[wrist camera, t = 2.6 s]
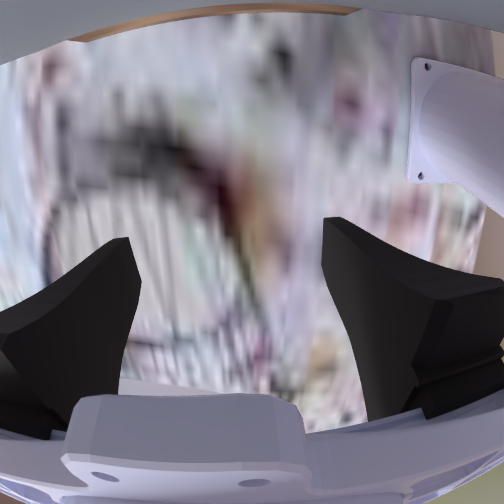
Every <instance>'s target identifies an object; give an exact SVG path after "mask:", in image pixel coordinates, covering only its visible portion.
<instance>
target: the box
mask: <svg viewBox="0 0 504 504" xmlns="http://www.w3.org/2000/svg"><path fill="white" fill-rule="evenodd" d="M359 9H362V8H356V7H348V6H339V5H328V4H314V3H284V2H272V3H242V4H228V5H217V6H207V7H199V8H192V9H185V10H179V11H173V12H167V13H162V14H157V15H152V16H147V17H142V18H138V19H134V20H130V21H126V22H122V23H118V24H114V25H111V26H107V27H104V28H101V29H97V30H94V31H91V32H88V33H85V34H82V35H79V36H76V37H73V38H70V39H68V40H70V41H78V42H90V41H93V40H96V39H99V38H103V37H106V36H110V35H113V34H117V33H121V32H125V31H129V30H133V29H137V28H141V27H146V26H151V25H156V24H161V23H166V22H172V21H178V20H184V19H191V18H198V17H206V16H216V15H226V14H240V13H261V12H301V13H321V14H335V15H347V14H350V13H352V12H354V11H357V10H359Z"/></svg>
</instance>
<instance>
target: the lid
mask: <svg viewBox="0 0 504 504" xmlns="http://www.w3.org/2000/svg"><path fill="white" fill-rule="evenodd" d="M272 2H284V3H314V4H328V5H339V6H348V7H356V8H364V9H371V10H377V11H383V12H388V13H397V14H408V15H417V16H424V17H432V18H438V19H444V20H450V21H455V22H460V23H465V24H470V25H474V26H478V27H482V28H486V29H490V30H494V31H498V32H502V33H504V0H0V65H2V64H4V63H7V62H9V61H12V60H15V59H18V58H20V57H23V56H26V55H29V54H32V53H35V52H38V51H40V50H42V49H45V48H47V47H50V46H52V45H55V44H57V43H60V42H62V41H65V40H68V39H70V38H73V37H76V36H79V35H82V34H85V33H88V32H91V31H94V30H97V29H101V28H104V27H107V26H111V25H114V24H118V23H122V22H126V21H130V20H134V19H138V18H142V17H147V16H152V15H157V14H162V13H167V12H173V11H179V10H185V9H192V8H199V7H207V6H217V5H228V4H242V3H272Z"/></svg>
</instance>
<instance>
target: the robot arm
mask: <svg viewBox="0 0 504 504" xmlns="http://www.w3.org/2000/svg"><path fill="white" fill-rule="evenodd" d="M425 63H427V65H428V69H427V70H426V69H425ZM421 172H422V175H421V177H419V178H418V175H419V173H421ZM406 178H407V180H408V181H410V182H411V183H456V184H457V185H459V186H460V187H462V188H463V189H465V190H466V191H468V192H469V193H471V194H472V195H473V196H475V197H476V198H478V199H479V200H480V201H482V202H483V203H485V204H486V205H487V206H489V207H490V208H491V209H493V210H494V211H495V212H497V213H498V214H499V215H501V216H502V217H503V218H504V79H501V78H498V77H495V76H492V75H489V74H486V73H482V72H479V71H475V70H472V69H468V68H465V67H461V66H457V65H453V64H449V63H445V62H440V61H436V60H431V59H426V58H421V57H415V58H414V59H413V60H412V62H411V114H410V133H409V147H408V158H407V169H406ZM321 265H322V269H323V273H324V276H325V280H326V283H327V287H328V289H329V291H330V294H331V296H332V298H333V301H334V303H335V305H336V308H337V310H338V312H339V314H340V317H341V319H342V321H343V324H344V326H345V328H346V331H347V333H348V336H349V339H350V342H351V345H352V349H353V353H354V356H355V360H356V364H357V368H358V372H359V376H360V381H361V385H362V390H363V395H364V400H365V405H366V411H367V417H368V422H366V423H362V424H357V425H352V426H348V427H343V428H337V429H332V430H327V431H321V432H315V433H308V434H305V429H304V423H303V418H302V416H301V414H300V412H299V411H298V409H297V407H296V405H294V404H291V403H289V402H286V401H284V400H281V399H278V398H276V397H273V396H271V395H264V394H243V393H235V394H219V395H196V396H133V395H132V396H131V395H130V396H129V395H118V387H119V378H120V371H121V364H122V358H123V353H124V349H125V346H126V342H127V339H128V335H129V332H130V329H131V326H132V322H133V319H134V316H135V312H136V309H137V306H138V302H139V296H140V290H141V283H142V281H141V278H140V274H139V271H138V268H137V265H136V261H135V258H134V255H133V251H132V248H131V245H130V241H129V237H124V238H115V239H112V240H111V241H109V242H107V243H106V244H104V245H103V246H101V247H100V248H99V249H97V250H96V251H95V252H94V253H92V254H91V255H90V256H88V257H87V258H86V259H84V260H83V261H82V262H81V263H79V264H78V265H77V266H75V267H74V268H73V269H71V270H70V271H69V272H67V273H66V274H65V275H63V276H62V277H61V278H59V279H58V280H56V281H55V282H54V283H52V284H51V285H49V286H47V287H46V288H44V289H43V290H41V291H40V292H38V293H36V294H34V295H33V296H31V297H29V298H27V299H25V300H23V301H22V302H20V303H18V304H16V305H14V306H12V307H10V308H8V309H5V310H3V311H1V312H0V492H2V493H4V494H7V495H8V496H11V497H13V498H15V499H17V500H19V501H22V502H24V503H27V504H423V503H425V502H427V501H430V500H432V499H435V498H437V497H439V496H441V495H443V494H445V493H447V492H450V491H451V490H454V489H456V488H458V487H460V486H461V485H463V484H465V483H467V482H469V481H471V480H473V479H475V478H476V477H478V476H480V475H482V474H483V473H485V472H487V471H489V470H490V469H492V468H494V467H495V466H497V465H499V464H500V463H502V462H504V363H503V361H502V360H501V358H502V357H503V356H504V350H503V349H502V347H501V346H500V343H501V341H502V339H503V338H504V281H503V280H502V279H500V278H493V277H487V276H480V275H474V274H470V273H466V272H461V271H457V270H453V269H450V268H446V267H443V266H440V265H437V264H434V263H431V262H428V261H425V260H423V259H420V258H418V257H415V256H413V255H411V254H408V253H406V252H404V251H402V250H400V249H397V248H396V247H394V246H392V245H390V244H388V243H386V242H384V241H382V240H380V239H379V238H377V237H375V236H373V235H372V234H370V233H368V232H366V231H365V230H363V229H361V228H360V227H358V226H356V225H355V224H353V223H351V222H349V221H348V220H346V219H344V218H341V217H330V218H324V221H323V245H322V263H321Z"/></svg>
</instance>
